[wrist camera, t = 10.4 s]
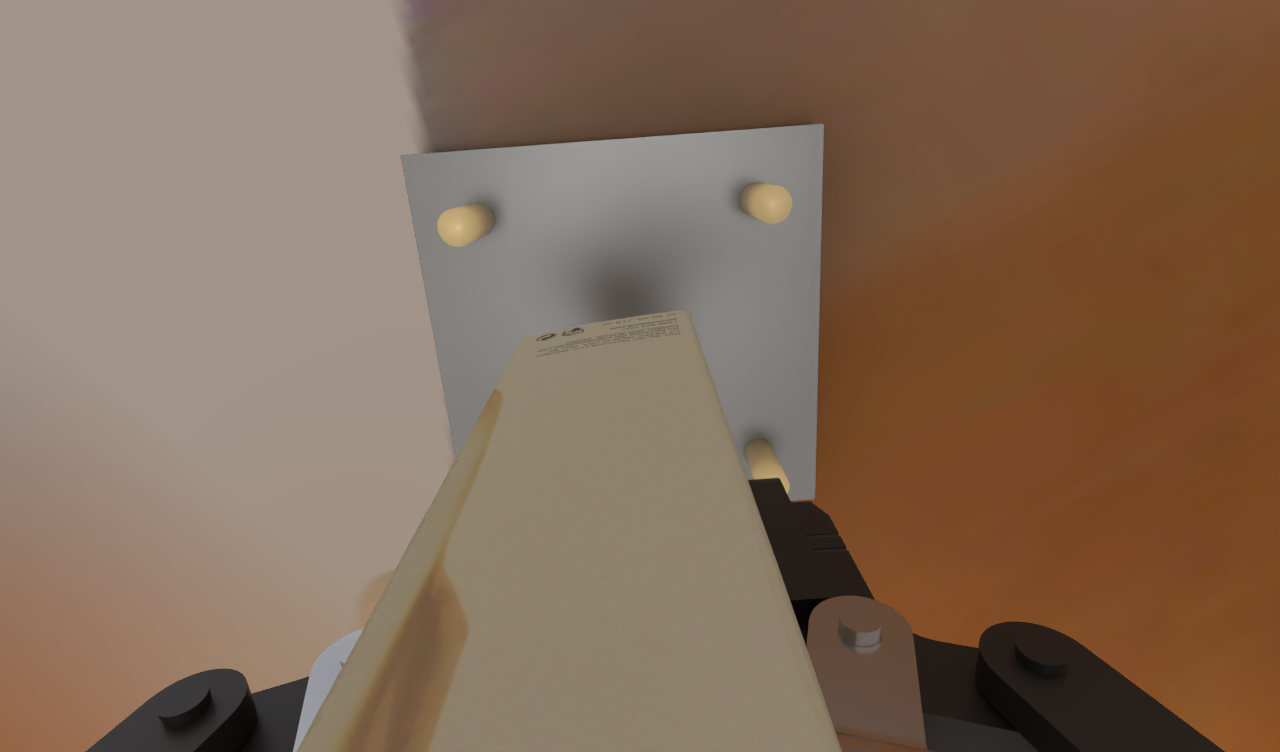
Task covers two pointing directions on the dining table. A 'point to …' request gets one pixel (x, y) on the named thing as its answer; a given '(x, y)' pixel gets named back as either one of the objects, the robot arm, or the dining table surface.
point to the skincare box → (587, 575)
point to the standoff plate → (636, 266)
